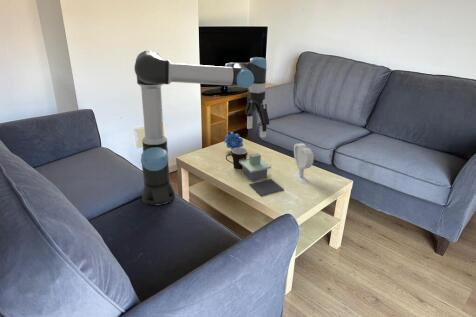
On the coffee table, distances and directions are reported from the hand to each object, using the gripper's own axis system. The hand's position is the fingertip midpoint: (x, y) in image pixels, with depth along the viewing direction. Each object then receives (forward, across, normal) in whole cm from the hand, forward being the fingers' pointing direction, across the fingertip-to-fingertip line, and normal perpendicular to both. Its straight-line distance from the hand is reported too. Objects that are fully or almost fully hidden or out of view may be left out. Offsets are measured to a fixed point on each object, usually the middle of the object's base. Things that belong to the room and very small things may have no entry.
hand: (256, 132), depth 173 cm
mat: (+24, -14, +1) cm, 28 cm away
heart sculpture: (+25, -13, -21) cm, 35 cm away
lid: (+18, 0, 0) cm, 19 cm away
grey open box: (+24, 0, 0) cm, 25 cm away
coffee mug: (+25, +13, +4) cm, 28 cm away
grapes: (+25, +33, -4) cm, 41 cm away
